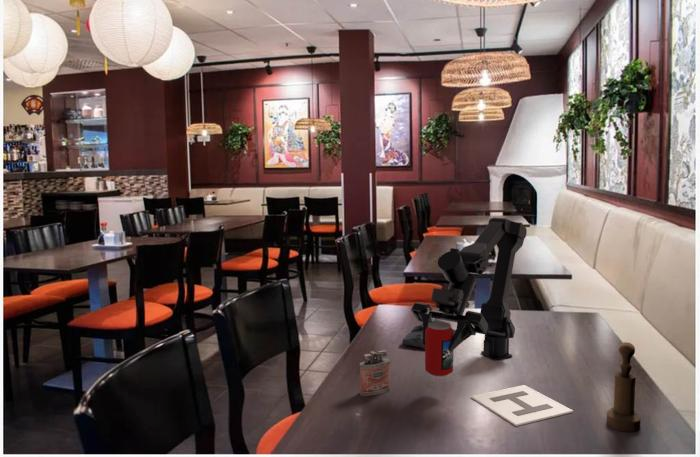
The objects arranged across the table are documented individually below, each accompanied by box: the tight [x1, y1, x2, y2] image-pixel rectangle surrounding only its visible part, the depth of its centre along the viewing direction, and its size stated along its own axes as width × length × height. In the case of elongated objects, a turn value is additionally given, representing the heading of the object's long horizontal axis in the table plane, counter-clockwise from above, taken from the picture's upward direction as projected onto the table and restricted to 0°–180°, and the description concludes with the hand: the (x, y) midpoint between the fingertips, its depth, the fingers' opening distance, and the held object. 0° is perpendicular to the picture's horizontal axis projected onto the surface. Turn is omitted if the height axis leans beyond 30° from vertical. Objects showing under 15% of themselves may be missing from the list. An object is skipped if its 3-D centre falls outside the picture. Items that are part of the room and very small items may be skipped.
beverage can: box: [424, 320, 455, 378], centre depth 137 cm, size 7×7×12 cm
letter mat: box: [470, 384, 574, 427], centre depth 132 cm, size 16×16×1 cm
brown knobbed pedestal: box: [606, 341, 642, 433], centre depth 121 cm, size 7×6×18 cm
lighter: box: [359, 349, 391, 397], centre depth 139 cm, size 8×3×10 cm, turn 118°
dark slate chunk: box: [401, 318, 456, 350], centre depth 180 cm, size 15×22×5 cm
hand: (436, 347), depth 136 cm, fingers closed on beverage can, 7 cm apart
